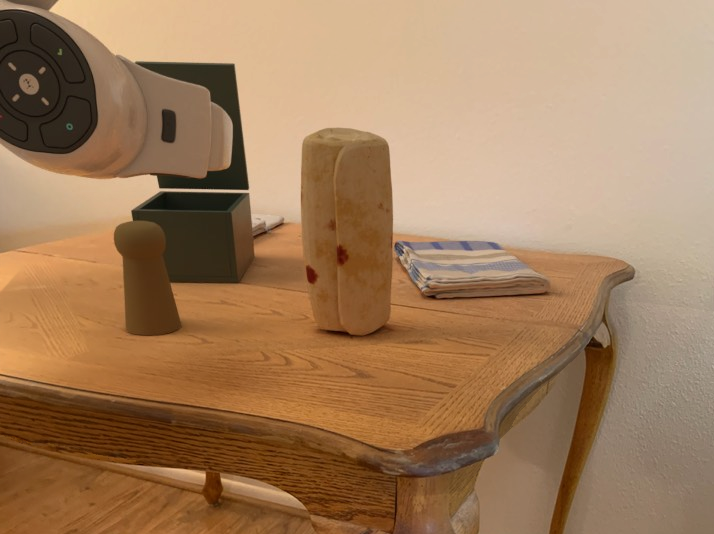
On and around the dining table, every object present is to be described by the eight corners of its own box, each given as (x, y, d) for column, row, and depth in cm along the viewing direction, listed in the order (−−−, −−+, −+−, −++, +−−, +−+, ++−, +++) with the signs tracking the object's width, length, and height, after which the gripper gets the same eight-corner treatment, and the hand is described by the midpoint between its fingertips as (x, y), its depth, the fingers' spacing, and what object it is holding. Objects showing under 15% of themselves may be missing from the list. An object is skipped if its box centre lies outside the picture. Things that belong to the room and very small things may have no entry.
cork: (129, 337, 82) (110, 229, 76) (122, 321, 87) (103, 218, 81) (186, 331, 84) (171, 225, 78) (176, 316, 89) (162, 215, 83)
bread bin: (238, 283, 102) (231, 212, 97) (142, 281, 101) (130, 210, 96) (254, 256, 114) (249, 192, 109) (169, 255, 113) (160, 191, 109)
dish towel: (422, 300, 96) (423, 278, 95) (390, 256, 116) (390, 236, 114) (553, 296, 99) (556, 274, 98) (500, 253, 118) (502, 234, 117)
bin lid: (233, 65, 97) (239, 54, 101) (134, 62, 97) (143, 52, 101) (248, 190, 108) (253, 177, 112) (159, 188, 108) (166, 175, 112)
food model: (384, 317, 90) (384, 125, 79) (400, 335, 85) (403, 131, 74) (302, 323, 88) (291, 126, 77) (313, 342, 82) (303, 132, 71)
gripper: (-61, 135, 56) (-1, 147, 69) (224, 182, 60) (232, 185, 73) (-68, 35, 54) (-5, 67, 66) (229, 91, 58) (237, 111, 70)
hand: (121, 129), depth 70 cm, fingers open, 8 cm apart
